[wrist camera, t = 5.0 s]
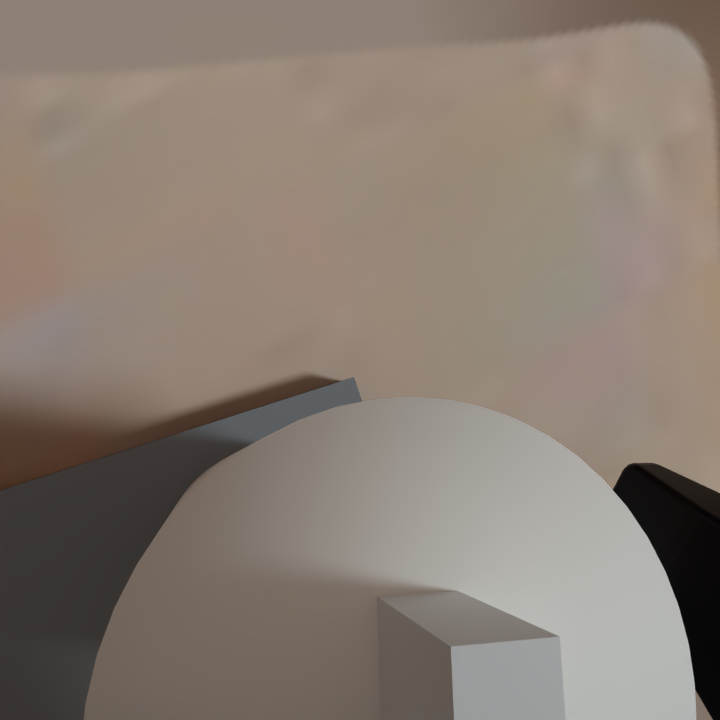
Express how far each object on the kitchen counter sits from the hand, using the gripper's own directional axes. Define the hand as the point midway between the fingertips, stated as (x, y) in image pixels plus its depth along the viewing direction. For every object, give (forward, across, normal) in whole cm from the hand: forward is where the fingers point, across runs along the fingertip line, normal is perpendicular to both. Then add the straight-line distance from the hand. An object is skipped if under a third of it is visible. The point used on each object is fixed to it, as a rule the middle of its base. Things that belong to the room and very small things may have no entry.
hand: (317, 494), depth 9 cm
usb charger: (+3, 0, -5) cm, 6 cm away
